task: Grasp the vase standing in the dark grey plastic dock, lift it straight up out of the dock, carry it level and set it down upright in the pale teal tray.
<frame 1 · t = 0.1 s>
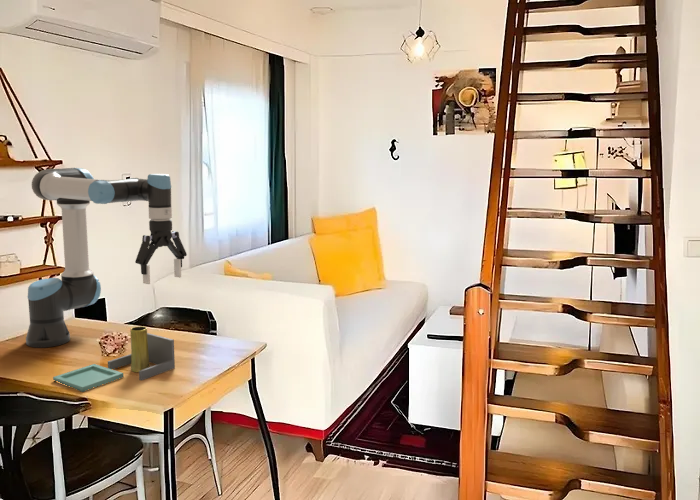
hand: (162, 280, 227), 28 cm above the table, fingers open, 13 cm apart
tray: (88, 379, 210), on the table
dock: (140, 369, 219), on the table
vase: (140, 370, 219), on the table
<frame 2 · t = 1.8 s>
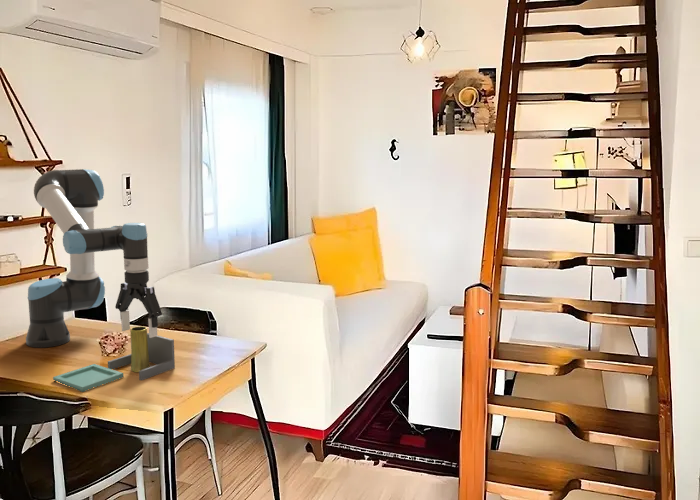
hand: (139, 333, 217), 13 cm above the table, fingers open, 13 cm apart
nothing on the table moved.
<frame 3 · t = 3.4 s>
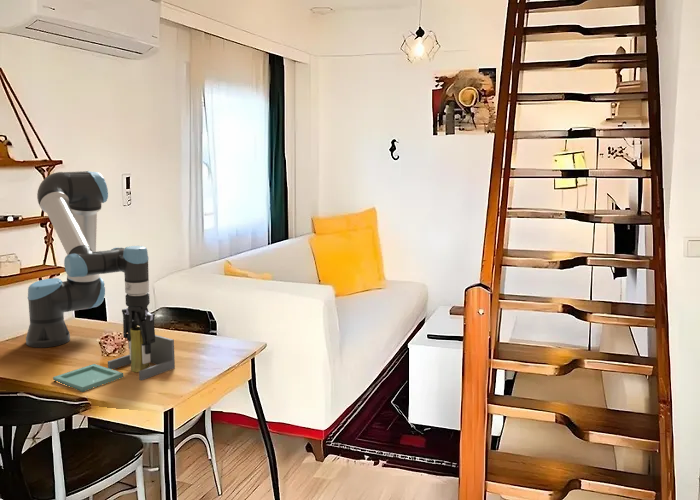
hand: (140, 360, 219), 3 cm above the table, fingers closed on vase, 6 cm apart
vase: (140, 370, 219), on the table, touching gripper
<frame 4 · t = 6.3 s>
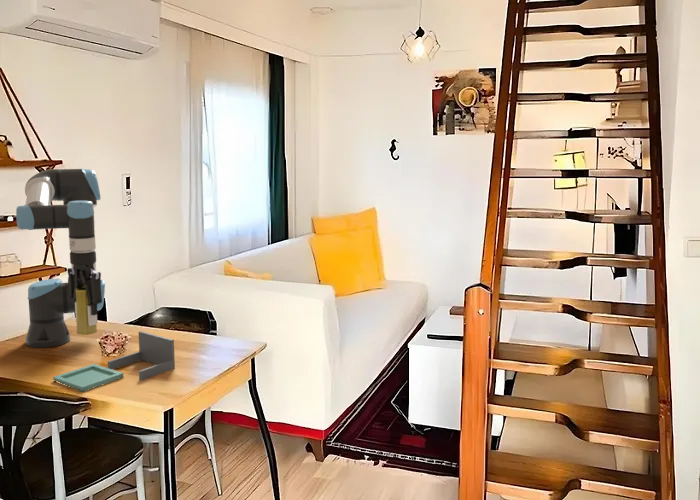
hand: (86, 322, 207), 19 cm above the table, fingers closed on vase, 6 cm apart
vase: (87, 332, 207), point 15 cm above the table, touching gripper
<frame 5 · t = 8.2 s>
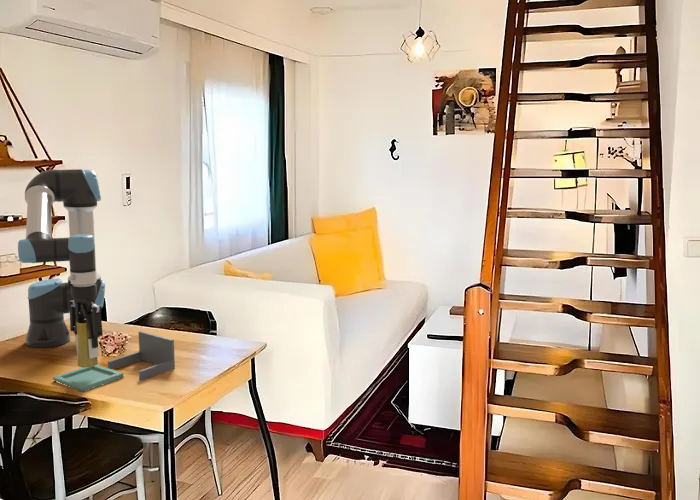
hand: (87, 355, 208), 8 cm above the table, fingers closed on vase, 6 cm apart
vase: (87, 365, 209), point 5 cm above the table, touching gripper
when the fingers open (5 cm above the table, at t = 9.6 s): vase drops 1 cm, resting on tray.
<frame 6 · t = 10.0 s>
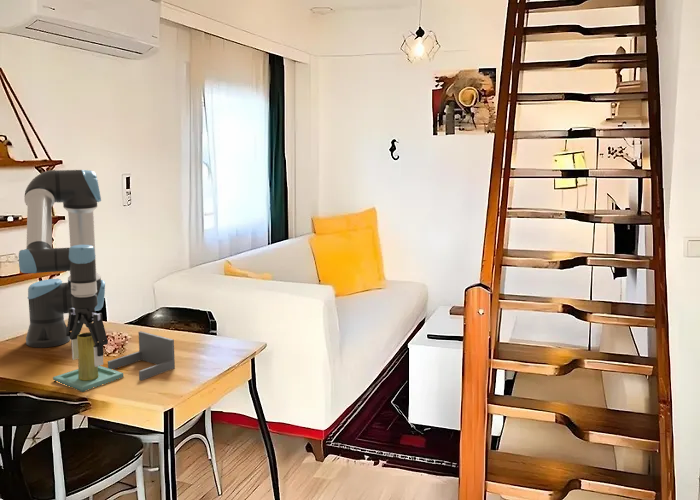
hand: (87, 361, 209), 6 cm above the table, fingers open, 10 cm apart
vase: (88, 378, 210), resting on tray
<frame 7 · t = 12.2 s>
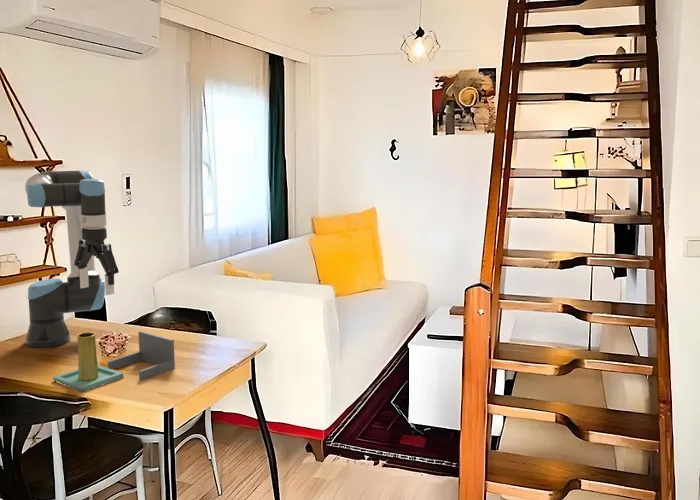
hand: (97, 290, 216), 27 cm above the table, fingers open, 13 cm apart
nothing on the table moved.
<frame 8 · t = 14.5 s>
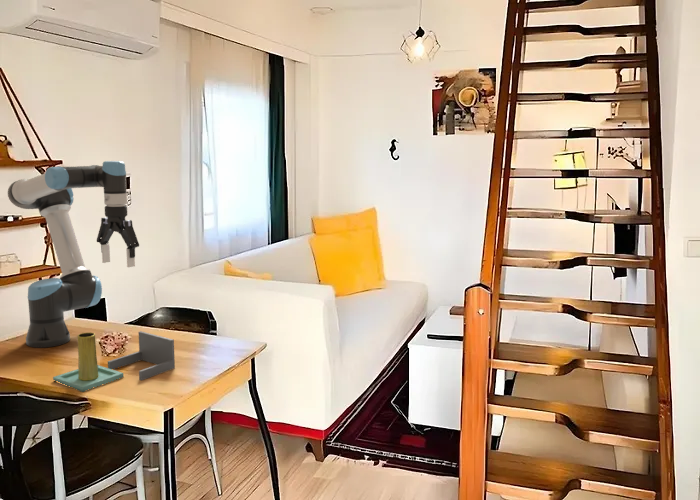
hand: (118, 264, 234), 32 cm above the table, fingers open, 13 cm apart
nothing on the table moved.
at the end: vase inside the target area on the tray (0.1 cm from its centre), point 0.4 cm above the tray's base; vase tilted 0°; the gripper is holding nothing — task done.
